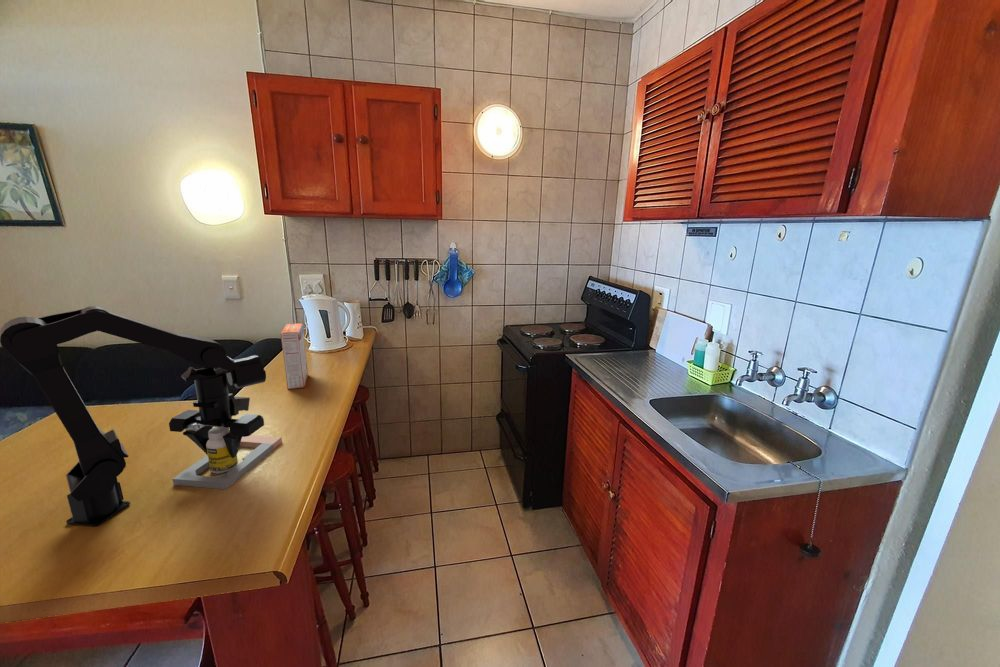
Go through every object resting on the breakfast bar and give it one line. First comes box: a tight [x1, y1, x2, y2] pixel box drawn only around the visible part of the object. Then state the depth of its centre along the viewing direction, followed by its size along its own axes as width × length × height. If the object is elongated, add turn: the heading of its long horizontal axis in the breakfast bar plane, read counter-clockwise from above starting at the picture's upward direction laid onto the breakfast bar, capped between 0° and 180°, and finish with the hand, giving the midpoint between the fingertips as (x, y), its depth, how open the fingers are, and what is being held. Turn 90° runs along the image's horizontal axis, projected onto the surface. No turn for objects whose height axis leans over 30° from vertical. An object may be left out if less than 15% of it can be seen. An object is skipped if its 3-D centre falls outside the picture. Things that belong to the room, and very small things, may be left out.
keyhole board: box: [172, 434, 283, 490], centre depth 95 cm, size 20×12×2 cm, turn 176°
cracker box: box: [280, 322, 309, 390], centre depth 143 cm, size 14×6×21 cm, turn 20°
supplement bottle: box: [206, 427, 239, 474], centre depth 91 cm, size 5×5×10 cm
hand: (222, 456), depth 92 cm, fingers closed on supplement bottle, 5 cm apart
